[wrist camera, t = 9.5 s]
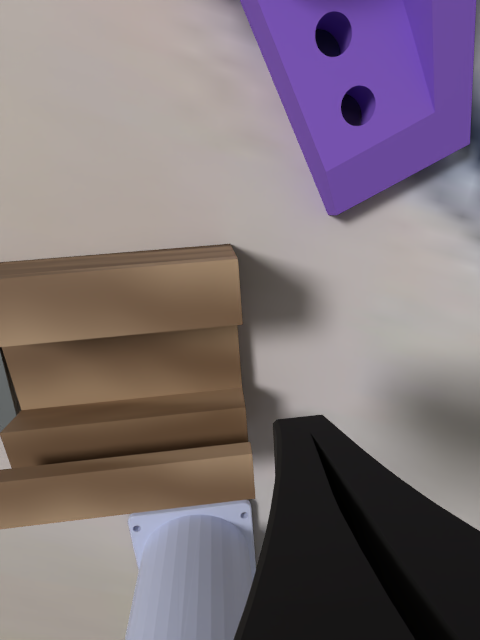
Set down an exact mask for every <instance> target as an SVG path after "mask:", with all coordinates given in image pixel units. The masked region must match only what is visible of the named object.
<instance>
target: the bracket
mask: <svg viewBox="0 0 480 640" xmlns="http://www.w3.org/2000/svg"><path fill="white" fill-rule="evenodd" d="M240 2H241V4H242V6H243V9H244V11H245V14H246V16H247V19H248V21H249V23H250V26H251V28H252V31H253V33H254V36H255V38H256V40H257V43H258V45H259V48H260V50H261V53H262V55H263V57H264V60H265V62H266V65H267V67H268V70H269V72H270V74H271V77H272V79H273V82H274V84H275V87H276V89H277V91H278V94H279V96H280V99H281V101H282V104H283V106H284V108H285V111H286V113H287V116H288V118H289V121H290V123H291V125H292V128H293V130H294V133H295V135H296V138H297V140H298V143H299V145H300V147H301V150H302V152H303V155H304V157H305V160H306V162H307V164H308V167H309V169H310V172H311V174H312V177H313V179H314V181H315V184H316V186H317V189H318V191H319V194H320V196H321V198H322V201H323V203H324V206H325V208H326V211H327V213H328V215H338V214H340V213H342V212H344V211H346V210H348V209H349V208H351V207H353V206H355V205H357V204H359V203H361V202H362V201H364V200H366V199H368V198H370V197H372V196H374V195H375V194H377V193H379V192H381V191H383V190H385V189H387V188H389V187H390V186H392V185H394V184H396V183H398V182H400V181H402V180H403V179H405V178H407V177H409V176H411V175H413V174H415V173H416V172H418V171H420V170H422V169H424V168H426V167H428V166H429V165H431V164H433V163H435V162H437V161H439V160H441V159H443V158H444V157H446V156H448V155H450V154H452V153H454V152H456V151H457V150H459V149H461V148H463V147H465V146H467V145H469V144H470V128H471V105H472V83H473V60H474V37H475V15H476V0H240ZM316 29H322V30H325V31H328V32H329V33H331V34H332V35H333V36H334V37H335V39H336V40H337V42H338V45H339V49H340V55H339V56H336V57H329V56H326V55H324V54H323V53H322V52H321V51H320V50H319V48H318V47H317V44H316V40H315V30H316ZM345 94H347V95H350V96H352V97H353V98H354V99H355V100H356V101H357V102H358V104H359V106H360V109H361V115H362V118H361V124H360V126H353V125H350V124H348V123H347V122H346V121H345V120H344V118H343V116H342V113H341V102H342V99H343V97H344V95H345Z"/></svg>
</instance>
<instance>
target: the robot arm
mask: <svg viewBox="0 0 480 640" xmlns="http://www.w3.org/2000/svg"><path fill="white" fill-rule="evenodd" d="M273 435H274V456H275V484H274V491H273V497H272V503H271V509H270V515H269V520H268V524H267V529H266V533H265V538H264V542H263V546H262V550H261V554H260V557H259V561H258V565H257V568H256V562H255V549H254V537H253V524H252V511H251V504H250V502H249V501H248V500H239V501H231V502H222V503H214V504H206V505H197V506H189V507H181V508H173V509H164V510H156V511H148V512H139V513H132V514H131V515H130V516H129V519H128V525H129V530H130V534H131V538H132V543H133V547H134V551H135V556H136V560H137V565H138V569H139V572H138V577H137V582H136V587H135V592H134V597H133V602H132V607H131V612H130V617H129V622H128V627H127V632H126V637H125V640H480V531H479V530H477V529H475V528H474V527H472V526H470V525H469V524H467V523H466V522H464V521H462V520H461V519H459V518H458V517H456V516H454V515H453V514H451V513H450V512H448V511H447V510H445V509H443V508H442V507H440V506H439V505H437V504H436V503H434V502H433V501H431V500H430V499H428V498H427V497H425V496H424V495H422V494H421V493H420V492H418V491H417V490H415V489H414V488H413V487H411V486H410V485H408V484H407V483H406V482H404V481H403V480H401V479H400V478H399V477H397V476H396V475H395V474H393V473H392V472H391V471H389V470H388V469H387V468H385V467H384V466H383V465H381V464H380V463H379V462H378V461H376V460H375V459H374V458H373V457H371V456H370V455H369V454H368V453H366V452H365V451H364V450H363V449H362V448H360V447H359V446H358V445H357V444H356V443H355V442H353V441H352V440H351V439H350V438H349V437H347V436H346V435H345V434H344V433H343V432H342V431H341V430H339V429H338V428H337V427H336V426H335V425H334V424H332V423H331V422H330V421H329V420H328V419H327V418H325V417H324V416H323V415H315V416H306V417H296V418H287V419H278V420H276V421H275V422H274V423H273ZM243 512H246V513H243Z"/></svg>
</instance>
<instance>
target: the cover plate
mask: <svg viewBox="0 0 480 640" xmlns="http://www.w3.org/2000/svg"><path fill="white" fill-rule="evenodd" d="M20 411H21V407H20V404H19V401H18V397H17V394H16V391H15V388H14V385H13V382H12V378H11V375H10V372H9V369H8V366H7V363H6V359H5V356H4V353H3V350H2V347H0V432H1V431H2V430H3V429H4V428H5V427H6V426H7V425H8V424H9V423H10V422H11V421H12V420H13V419H14V418H15V417H16V416H17V414H18V413H19V412H20Z"/></svg>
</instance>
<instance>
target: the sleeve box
mask: <svg viewBox="0 0 480 640" xmlns="http://www.w3.org/2000/svg"><path fill="white" fill-rule="evenodd" d="M237 325H243V322H242V308H241V295H240V281H239V267H238V258H237V256H236V254H235V252H234V251H233V249H232V247H231V245H230V244H222V245H210V246H198V247H185V248H173V249H161V250H148V251H136V252H123V253H111V254H99V255H86V256H74V257H61V258H49V259H37V260H24V261H12V262H0V347H2V350H3V353H4V356H5V359H6V363H7V366H8V369H9V372H10V375H11V378H12V382H13V385H14V388H15V391H16V394H17V397H18V401H19V404H20V407H21V411H20V412H19V413H18V414H17V416H16V417H15V418H14V419H13V420H12V421H11V422H10V423H9V424H8V425H7V426H6V427H5V428H4V429H3V430H2V431H1V432H0V436H1V439H2V441H3V444H4V447H5V450H6V453H7V456H8V459H9V462H10V464H11V467H12V469H4V470H0V529H7V528H15V527H23V526H31V525H40V524H48V523H56V522H65V521H73V520H81V519H90V518H98V517H106V516H114V515H123V514H131V513H139V512H148V511H156V510H164V509H173V508H181V507H189V506H197V505H206V504H214V503H222V502H231V501H239V500H247V499H255V487H254V473H253V459H252V450H251V444H250V442H248V434H247V420H246V407H245V401H244V396H243V390H242V379H241V367H240V354H239V341H238V328H237Z"/></svg>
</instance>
